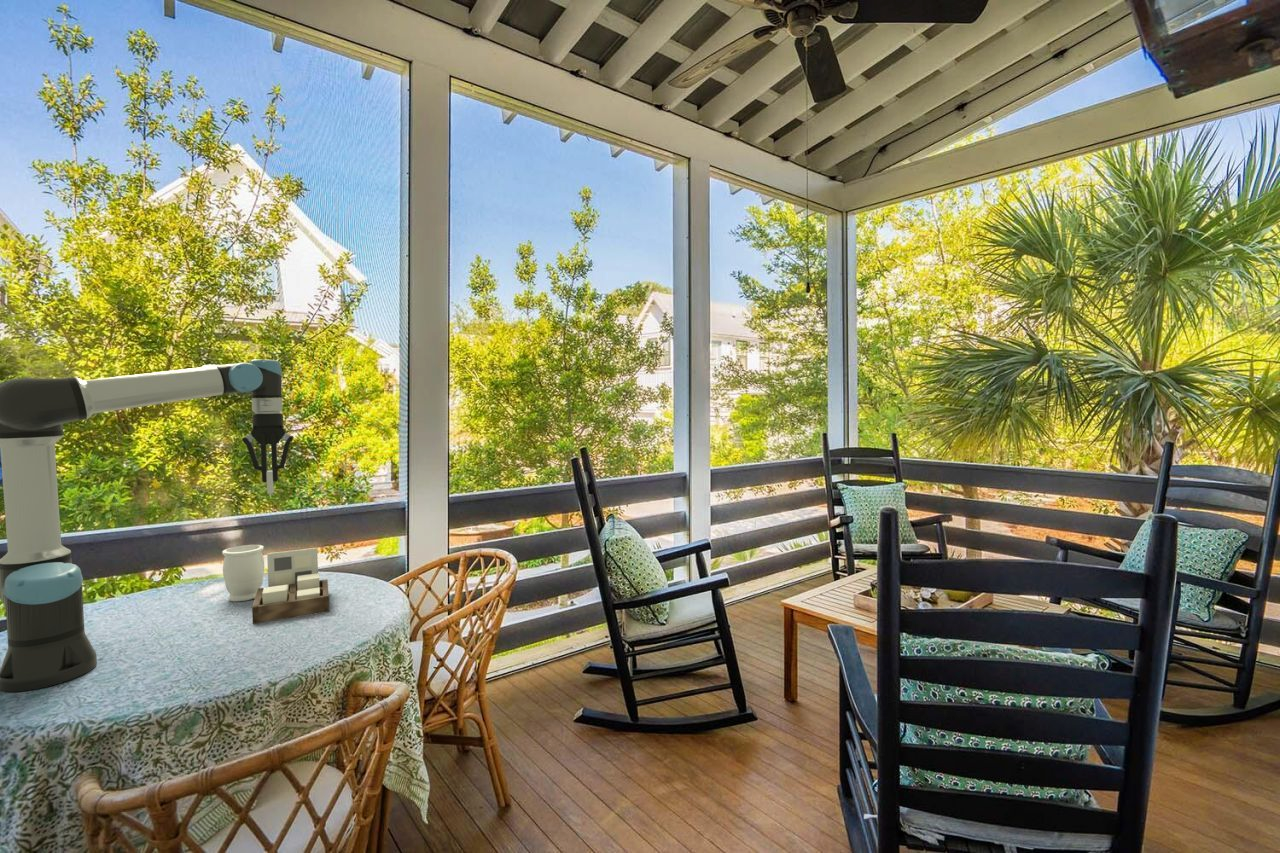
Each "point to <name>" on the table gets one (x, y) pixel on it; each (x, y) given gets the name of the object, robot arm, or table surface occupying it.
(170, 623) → the table surface
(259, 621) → the board
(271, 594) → the button near left
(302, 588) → the button far right
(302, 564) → the card
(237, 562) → the jar
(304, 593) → the button near right
